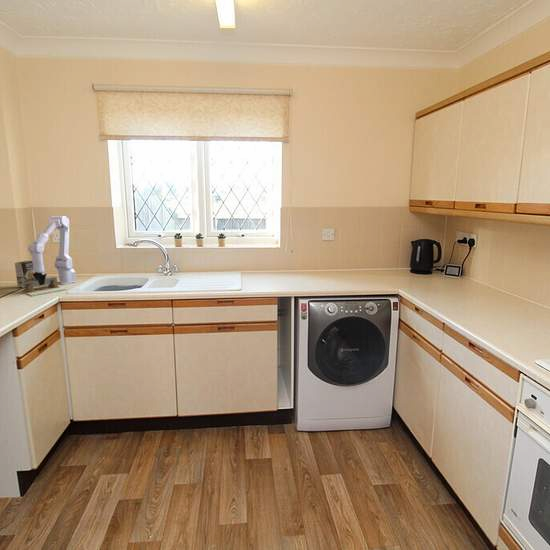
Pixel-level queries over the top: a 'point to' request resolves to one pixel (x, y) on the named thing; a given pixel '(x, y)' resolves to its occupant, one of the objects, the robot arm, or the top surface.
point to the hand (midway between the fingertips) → (40, 284)
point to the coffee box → (24, 272)
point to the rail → (36, 282)
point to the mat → (46, 291)
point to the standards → (51, 286)
